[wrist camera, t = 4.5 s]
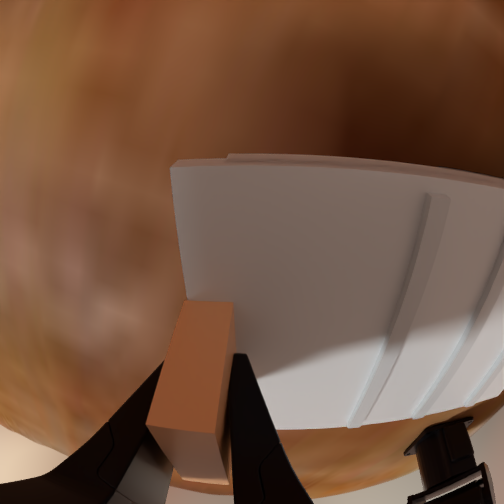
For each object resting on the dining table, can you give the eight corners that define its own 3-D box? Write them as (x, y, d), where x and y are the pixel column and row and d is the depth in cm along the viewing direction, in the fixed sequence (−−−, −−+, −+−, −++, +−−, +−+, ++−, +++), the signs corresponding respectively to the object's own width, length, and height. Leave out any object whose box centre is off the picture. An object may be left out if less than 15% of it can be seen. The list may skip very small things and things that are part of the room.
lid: (491, 381, 13) (519, 449, 8) (214, 405, 14) (201, 502, 9) (580, 200, 7) (653, 264, 2) (179, 155, 8) (71, 263, 3)
